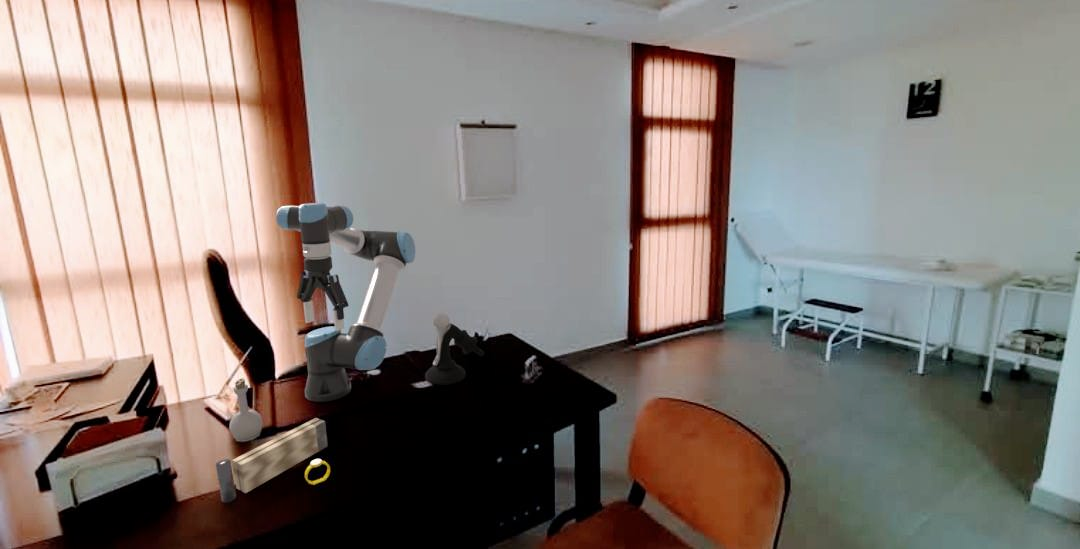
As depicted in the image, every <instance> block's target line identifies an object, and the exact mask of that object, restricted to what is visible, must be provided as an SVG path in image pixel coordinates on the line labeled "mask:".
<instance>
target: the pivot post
mask: <svg viewBox="0 0 1080 549" xmlns="http://www.w3.org/2000/svg"><path fill="white" fill-rule="evenodd" d="M215 468H216V473H217V474H216V475H217V480H218V486H219V493H220V496H221V497H220V499H221V502H222V503H224V504H225V503H230V502H231V503H232V502H233V501H235V499H237V494H236V486H235V482H234V481H235V480H234V473H233V467H232V461H231V460H230V459H229V458H225V459H221V460H218V461H217V462H216V463H215Z"/></svg>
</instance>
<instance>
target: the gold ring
mask: <svg viewBox="0 0 1080 549" xmlns="http://www.w3.org/2000/svg"><path fill="white" fill-rule="evenodd" d="M321 465H325V466H326V469H327V470H326V473H325V474H324V475H323V477H320V478H318V479H315V480H310V479H309V478H308V475H309V474H310V473H309V472H310V471H311V470H312V469H313V468H317V467H320V466H321ZM330 473H331V466H330V464H329V463H328V462H326V461H325V460H322V459H321V458H315V459H313V460H311V461H310V463H309V465H308V466H307V467H306V469H305V471H304V478H305V481H306V482H307V483H308V484H309V485H312V486H315V485H318V484H319V483H323V482H325V481H326V480H327V479H329V476H330Z"/></svg>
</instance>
